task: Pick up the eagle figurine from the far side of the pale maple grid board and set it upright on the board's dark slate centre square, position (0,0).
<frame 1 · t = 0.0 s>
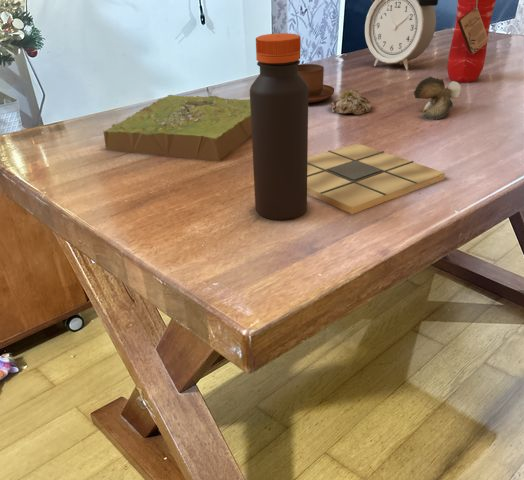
hand: (428, 2, 101), 17 cm above the table, tool pointing down, fingers open, 9 cm apart
mineral rock: (351, 110, 108), on the table
cup and saucer: (305, 100, 115), on the table
miniature landscape model: (192, 135, 99), on the table
board: (354, 177, 79), on the table
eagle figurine: (433, 114, 103), on the table
vinegar: (281, 211, 71), on the table
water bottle: (462, 82, 122), on the table
alarm clock: (395, 67, 137), on the table
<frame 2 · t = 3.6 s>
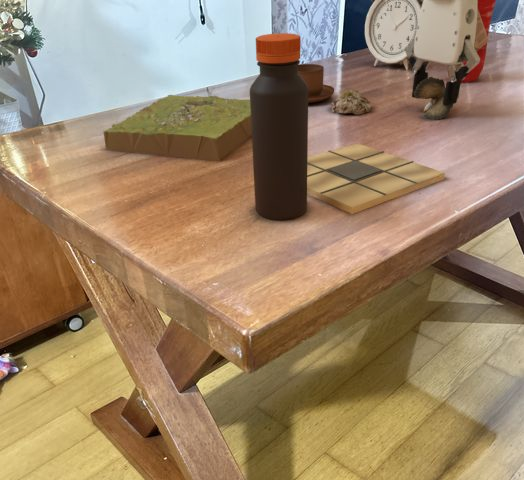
hand: (433, 99, 102), 2 cm above the table, tool pointing down, fingers closed on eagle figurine, 6 cm apart
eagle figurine: (433, 114, 103), on the table, touching gripper
everything else where it was.
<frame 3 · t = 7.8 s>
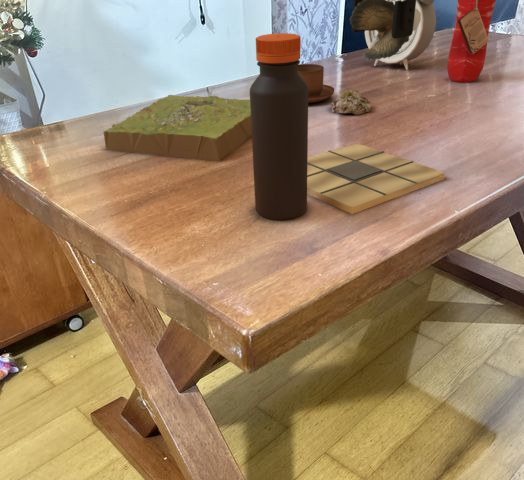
hand: (381, 32, 72), 18 cm above the table, tool pointing down, fingers closed on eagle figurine, 6 cm apart
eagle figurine: (382, 54, 73), point 15 cm above the table, touching gripper
everything else where it was.
when the fingers open (4 cm above the table, at t = 11.9 s): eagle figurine stays where it is, resting on board.
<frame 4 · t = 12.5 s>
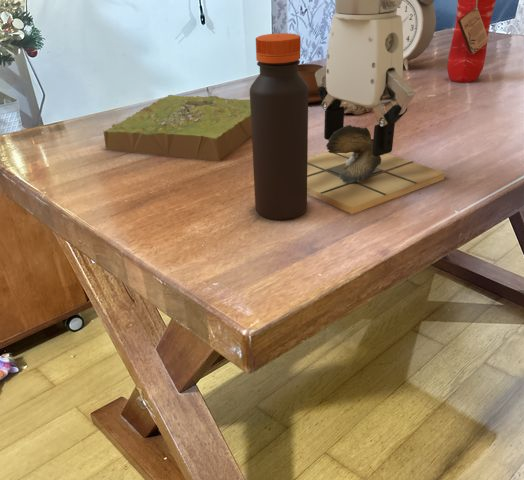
hand: (356, 145, 76), 5 cm above the table, tool pointing down, fingers open, 9 cm apart
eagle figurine: (357, 172, 78), point 1 cm above the table, touching board
everything else where it was.
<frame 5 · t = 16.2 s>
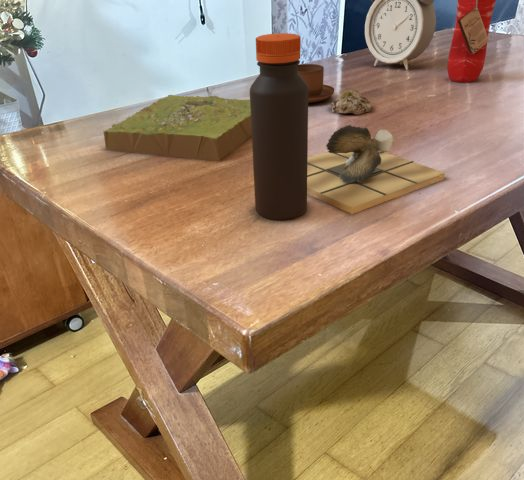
nothing on the table moved.
at the end: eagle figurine 0.6 cm off-centre on the board, point 1.0 cm above the board's base; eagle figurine tilted 1°; the gripper is holding nothing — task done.
